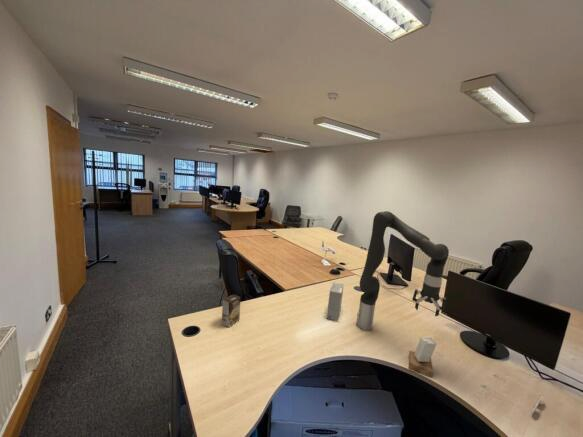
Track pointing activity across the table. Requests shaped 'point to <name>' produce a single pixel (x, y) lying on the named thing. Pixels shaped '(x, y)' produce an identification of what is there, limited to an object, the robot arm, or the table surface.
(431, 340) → the skincare box
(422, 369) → the walnut block
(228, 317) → the coffee box
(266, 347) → the table surface
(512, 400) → the eyeglasses
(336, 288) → the hard drive box
